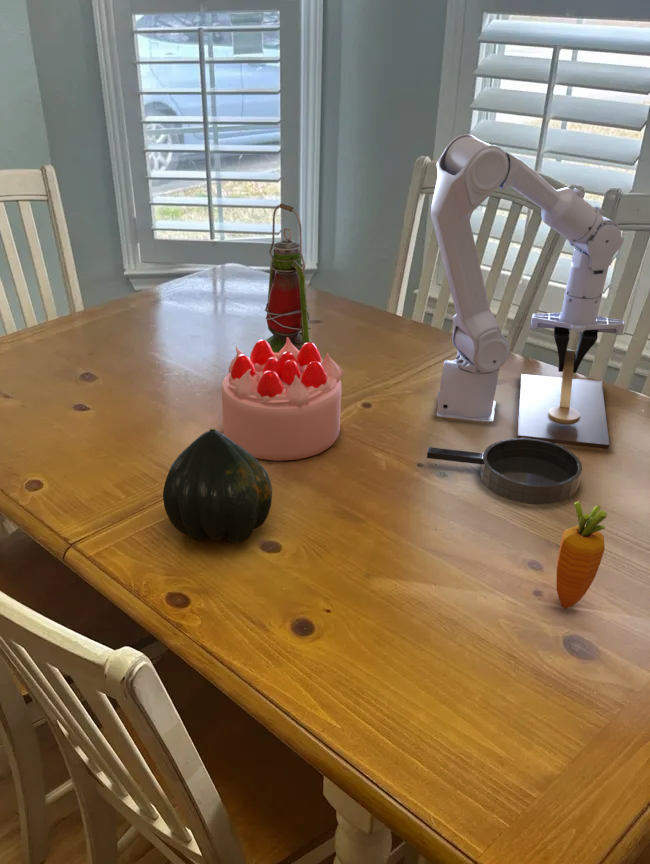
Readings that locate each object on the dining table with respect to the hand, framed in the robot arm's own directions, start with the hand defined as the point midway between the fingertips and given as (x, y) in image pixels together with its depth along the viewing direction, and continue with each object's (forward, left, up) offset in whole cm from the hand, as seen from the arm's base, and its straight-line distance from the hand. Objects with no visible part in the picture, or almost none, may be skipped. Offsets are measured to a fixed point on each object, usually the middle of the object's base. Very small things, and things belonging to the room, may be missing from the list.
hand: (567, 370), depth 142 cm
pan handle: (-16, -29, -3) cm, 33 cm away
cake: (-45, -23, -6) cm, 51 cm away
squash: (-47, -52, -6) cm, 70 cm away
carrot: (0, -58, -6) cm, 58 cm away
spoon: (0, -5, -4) cm, 7 cm away
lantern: (-51, +4, -6) cm, 51 cm away
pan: (-5, -29, -6) cm, 30 cm away
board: (0, -5, -6) cm, 8 cm away
